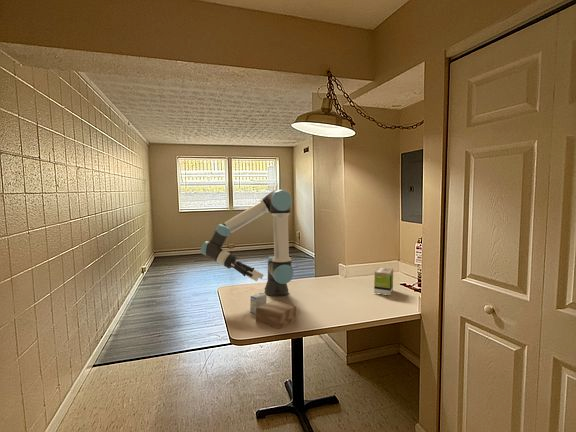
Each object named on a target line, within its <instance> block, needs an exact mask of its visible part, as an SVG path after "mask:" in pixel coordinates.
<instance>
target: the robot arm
mask: <svg viewBox="0 0 576 432" xmlns="http://www.w3.org/2000/svg"><path fill="white" fill-rule="evenodd" d="M292 204H293V198H292V196H291V193H289V192H288V191H286V190H284V189H275V190H272V191H270V192H269V193H268V194H266V196H264V197H263V198H261V199H260V200H259V202H257V203H256V204H254V205H252V206H250V207H249V208H247V209H245V210H244V211H242V212H240V213H238V214H237V215H235V216H233V217H232V218H230V219H228V220H227V221H225V222H223V223H219V224H217V226H216V227H214V229H213V230H212V236H211V238H210V240H209V241H208V240H207V241H204V243H202V245H201V247H200V253H201V254H202V255H204V256H205V257H207V258H208V259H211V260H213V261H214V262H217V263H218V265H222V266H224V267H226V268H227V269H231V268H232V269H234V270H236V271H237V272H238V273H240V274H242V275H243V276H244V277H246V276H247V277H248V278H250V279H252V280H254V281H255V282H258V280H259V279H260V280H262V279H263V277H264V275H265V274H264V273H261V272H260V271H257V270H256V269H255V267H253V266H252V267H251V266H249V265H248V264H245V263H243V262H241V261H236V260H237V256H236V255H234V254H233V253H230V252H229V251H227V250H225V249H223V248H222V247H223V246H224V244H225V242H226V240H227V238H228V237H229V235H230V234H232V233H234V232H236V231H238V230H239V229H240V228H243V227H244V226H247V224H249V223H251V222H253V221H254V220H256V219H257V218H259V217H261V216H263V215H264V214H266V213H268V214H269V213H270V215H271V216H272V218H273V219H272V224H273V228H272V229H273V256H269V257H268V258H267V280H266V285H265V287H264V294H266V295H268V296H270V297H283V296H287V295H288V294H289V287H288V283H290V282H291V281H292V279H293V278H294V275H295V273H294V272H295V271H294V269H293V266H292V265H293V264H292V261H293V260H292V258H291V257H290V254H289V253H290V252H289V251H290V249H289V248H290V247H289V246H290V245H289V244H290V243H289V215H290V214H291V207H292Z"/></svg>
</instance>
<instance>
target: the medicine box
mask: <svg viewBox="0 0 576 432" xmlns="http://www.w3.org/2000/svg"><path fill="white" fill-rule="evenodd" d="M267 298H268V297H267V294H265V293H263V292H260V293H256V294H255V293H254V294H252V295H250V307H249V308H250V310H249V312H250V313H252V314H255V315H256V308H257V307H259V306H262V305H264V304H266V303H267Z"/></svg>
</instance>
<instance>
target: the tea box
mask: <svg viewBox="0 0 576 432" xmlns="http://www.w3.org/2000/svg"><path fill="white" fill-rule="evenodd" d="M373 285H374V286H373V289H374V290H373V294H374V293H380V294H386V295H390V296H391V295H392V293H393V291H394V268H387V267H378V268H377V269H376V270H375V271H374V284H373ZM392 290H393V291H392ZM391 292H392V293H391Z"/></svg>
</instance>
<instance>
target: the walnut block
mask: <svg viewBox="0 0 576 432" xmlns="http://www.w3.org/2000/svg"><path fill="white" fill-rule="evenodd" d="M296 311H297V306H296V305H293V304H288V303H285V302H280V301H278V300H271V301H269V302H266V304H264V305H262V306H259V307H257V308H256V314H255V322H257V323H259V324H262V325H266V326H267V327H268V326H269V327H272V328H275V329H278V330H279V329H281V328H283V327H286V326H287V325H288V324H290V323H292V322H294V321H295V320H296V319H297V318H296V317H297V316H296V315H297V314H296V313H297V312H296Z"/></svg>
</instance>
